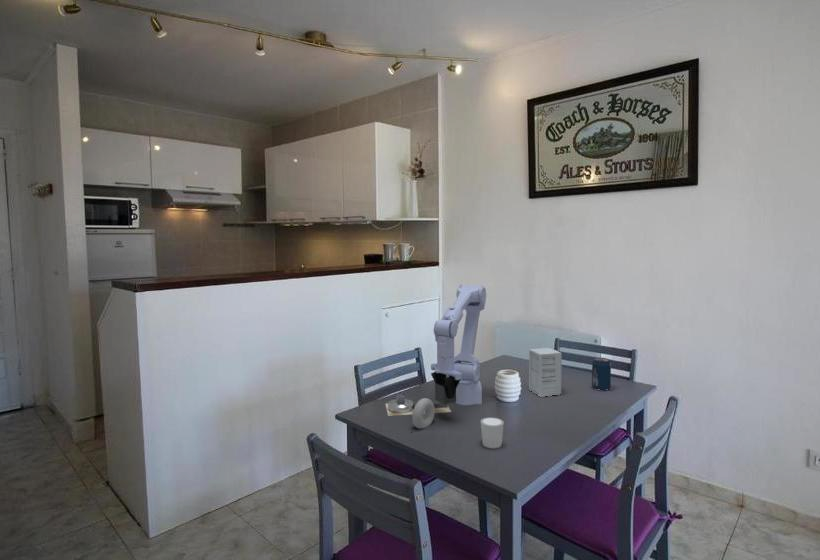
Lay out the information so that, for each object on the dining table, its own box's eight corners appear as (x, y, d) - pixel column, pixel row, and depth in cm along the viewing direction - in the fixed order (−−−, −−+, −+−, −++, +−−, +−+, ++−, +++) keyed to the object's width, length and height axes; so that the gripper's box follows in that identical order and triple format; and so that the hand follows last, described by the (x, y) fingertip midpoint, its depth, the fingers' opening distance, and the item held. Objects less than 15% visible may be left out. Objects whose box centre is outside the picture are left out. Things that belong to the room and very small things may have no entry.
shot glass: (478, 439, 145) (478, 417, 144) (500, 438, 145) (500, 416, 145) (483, 449, 138) (483, 426, 137) (506, 448, 139) (506, 425, 138)
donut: (419, 435, 148) (418, 404, 147) (410, 432, 151) (409, 402, 150) (437, 425, 156) (436, 395, 155) (428, 422, 158) (428, 393, 157)
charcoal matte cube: (447, 397, 162) (446, 380, 161) (456, 401, 158) (456, 383, 157) (435, 400, 159) (434, 382, 159) (444, 404, 155) (443, 386, 154)
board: (444, 403, 176) (444, 400, 176) (451, 415, 164) (451, 411, 164) (385, 406, 174) (385, 403, 173) (388, 419, 162) (388, 415, 162)
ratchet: (444, 401, 175) (444, 389, 174) (449, 410, 166) (449, 397, 165) (387, 404, 172) (386, 392, 172) (389, 414, 163) (388, 401, 163)
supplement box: (561, 395, 183) (562, 352, 181) (540, 397, 181) (540, 354, 179) (548, 387, 192) (549, 347, 191) (528, 390, 190) (528, 348, 188)
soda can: (611, 387, 192) (612, 358, 190) (608, 392, 186) (609, 362, 185) (593, 384, 195) (594, 356, 194) (589, 389, 190) (590, 360, 188)
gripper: (423, 352, 161) (423, 391, 162) (449, 362, 149) (449, 404, 150) (440, 349, 165) (440, 388, 166) (466, 358, 153) (466, 400, 154)
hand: (445, 395), depth 158 cm, fingers closed on charcoal matte cube, 5 cm apart
